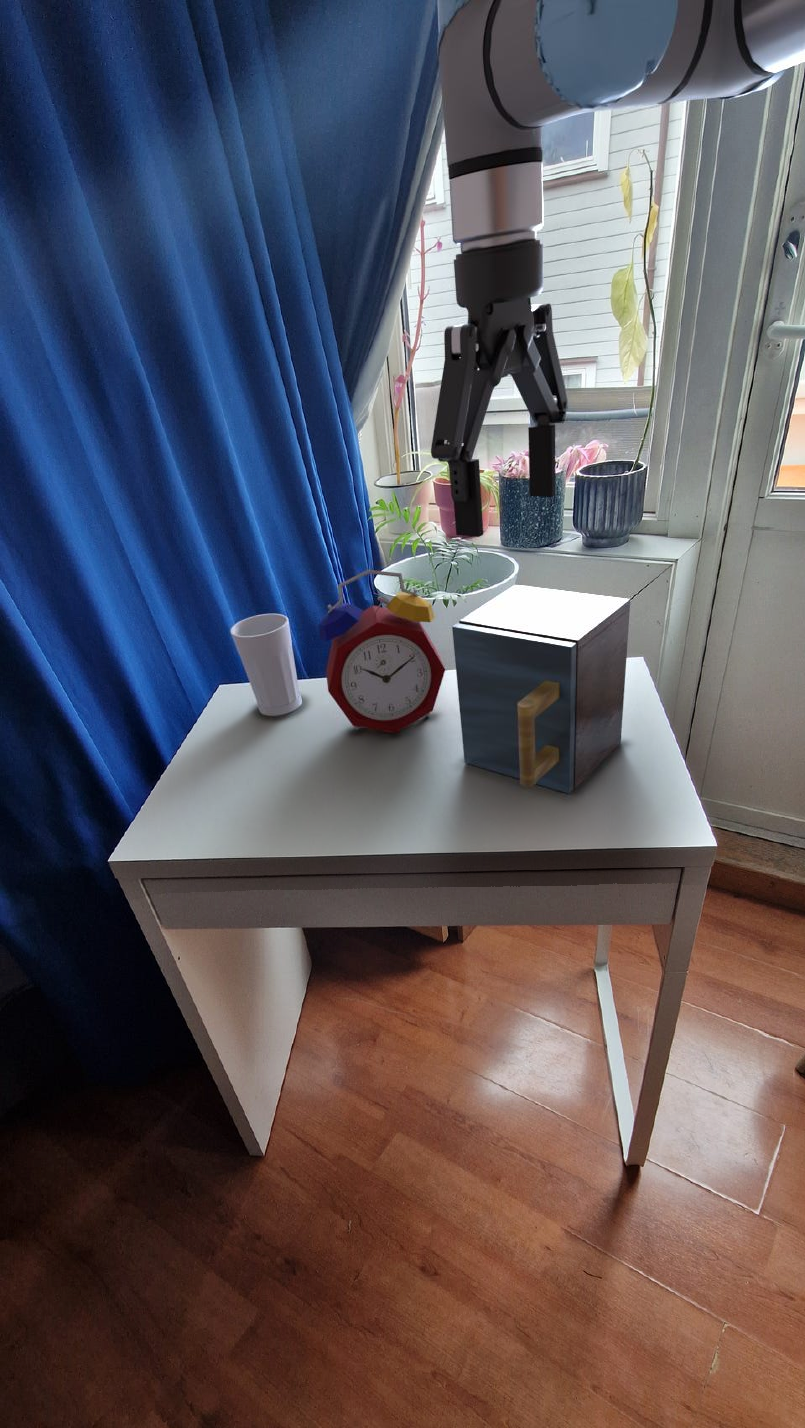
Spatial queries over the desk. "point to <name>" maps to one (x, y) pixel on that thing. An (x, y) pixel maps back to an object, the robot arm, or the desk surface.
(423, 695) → the alarm clock
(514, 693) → the door
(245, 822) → the desk surface
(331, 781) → the desk surface
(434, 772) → the desk surface
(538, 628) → the cupboard
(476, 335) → the robot arm
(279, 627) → the cup
